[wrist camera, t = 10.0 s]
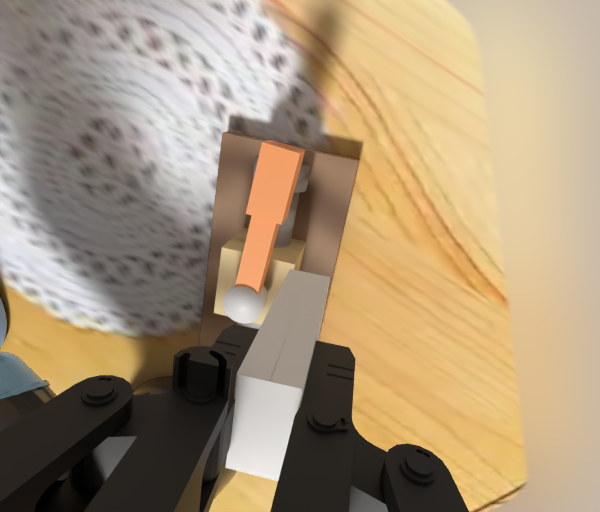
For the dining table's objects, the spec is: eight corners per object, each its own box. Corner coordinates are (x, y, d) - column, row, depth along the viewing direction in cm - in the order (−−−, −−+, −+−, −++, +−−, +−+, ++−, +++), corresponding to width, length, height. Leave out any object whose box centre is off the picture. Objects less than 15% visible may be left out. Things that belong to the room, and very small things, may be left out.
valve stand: (311, 366, 45) (298, 420, 38) (203, 339, 46) (169, 386, 39) (359, 159, 37) (354, 173, 30) (228, 131, 39) (191, 138, 31)
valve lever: (263, 315, 35) (256, 328, 33) (228, 303, 35) (219, 316, 33) (308, 150, 30) (303, 154, 28) (267, 138, 30) (259, 141, 28)
